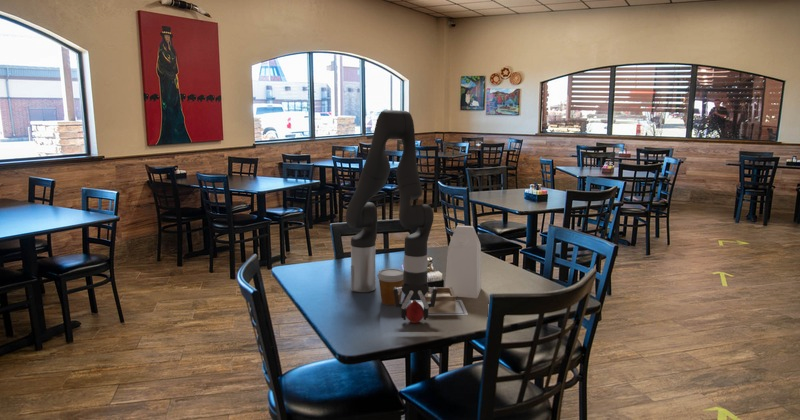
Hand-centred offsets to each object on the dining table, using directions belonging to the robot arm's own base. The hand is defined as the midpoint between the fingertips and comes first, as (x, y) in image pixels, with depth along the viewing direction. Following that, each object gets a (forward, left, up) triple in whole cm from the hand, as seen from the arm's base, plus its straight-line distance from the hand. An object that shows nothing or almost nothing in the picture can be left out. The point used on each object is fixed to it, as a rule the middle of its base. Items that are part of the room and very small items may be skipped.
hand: (414, 318), depth 175 cm
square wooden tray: (+9, +13, -1) cm, 16 cm away
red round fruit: (0, 0, -2) cm, 2 cm away
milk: (+20, +29, -3) cm, 35 cm away
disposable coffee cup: (-7, +19, -2) cm, 20 cm away
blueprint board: (+9, +13, -2) cm, 16 cm away
